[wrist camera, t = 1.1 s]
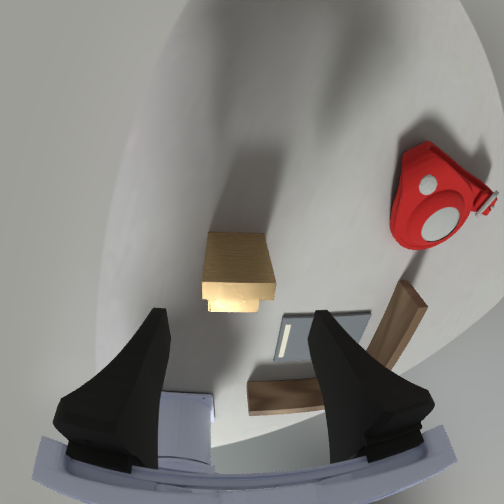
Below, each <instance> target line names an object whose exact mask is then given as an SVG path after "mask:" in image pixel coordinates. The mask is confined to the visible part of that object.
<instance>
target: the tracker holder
mask: <svg viewBox="0 0 504 504" xmlns="http://www.w3.org/2000/svg"><path fill="white" fill-rule="evenodd" d="M498 194H499V192H498V191H497V190H496V191H495V192H494V193H493V192H492V190H491V189H490V188H489V187H488V186H487V185H485V184H484V183H483V182H482V181H480V180H479V179H477V178H476V177H474V176H473V175H471V174H470V173H468V172H467V171H465V170H464V169H463V168H462V167H461V166H460V165H459V164H457V163H456V162H455V161H454V160H453V159H451V158H450V157H449V156H448V155H447V154H445V153H444V152H443V151H442V150H440V149H439V148H438V147H437V146H435V145H434V144H433V143H432V142H430V141H426V142H424V143H422V144H420V145H418V146H416V147H414V148H412V149H410V150H408V151H406V152H405V153H404V154H403V157H402V171H401V175H400V180H399V186H398V191H397V194H396V197H395V199H394V202H393V206H392V211H391V217H390V230H391V233H392V235H393V237H394V238H395V239H396V241H397V242H398V243H399V244H400V245H401V246H403V247H405V248H407V249H412V250H422V249H427V248H431V247H433V246H436V245H438V244H440V243H442V242H444V241H445V240H447V239H448V238H450V237H451V236H452V235H453V234H455V233H456V232H457V231H458V230H459V229H460V227H461V226H462V225H463V224H464V222H465V221H466V219H467V218H468V216H469V214H470V211H474V212H476V213H475V216H476V217H479V216H480V215H481V214H483V215H488V214H489V212H490V211H491V209H493V208H494V205H495V202H496V201H497V195H498Z"/></svg>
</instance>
